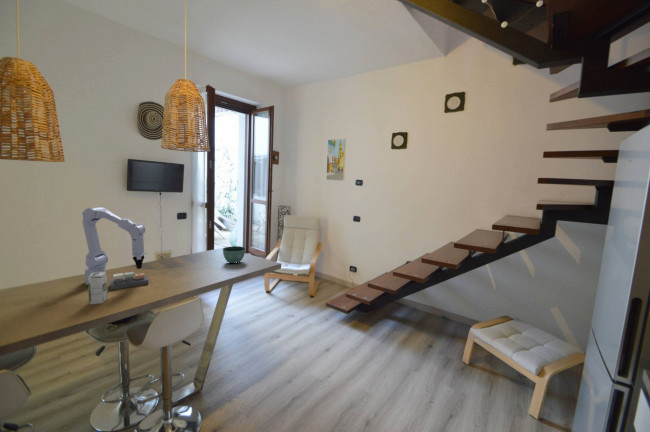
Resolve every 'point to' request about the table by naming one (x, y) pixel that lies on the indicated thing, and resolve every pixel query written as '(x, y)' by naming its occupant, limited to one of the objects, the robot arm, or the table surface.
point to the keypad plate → (128, 283)
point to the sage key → (129, 276)
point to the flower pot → (233, 254)
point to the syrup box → (97, 288)
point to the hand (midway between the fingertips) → (139, 268)
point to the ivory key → (118, 278)
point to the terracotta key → (139, 276)
